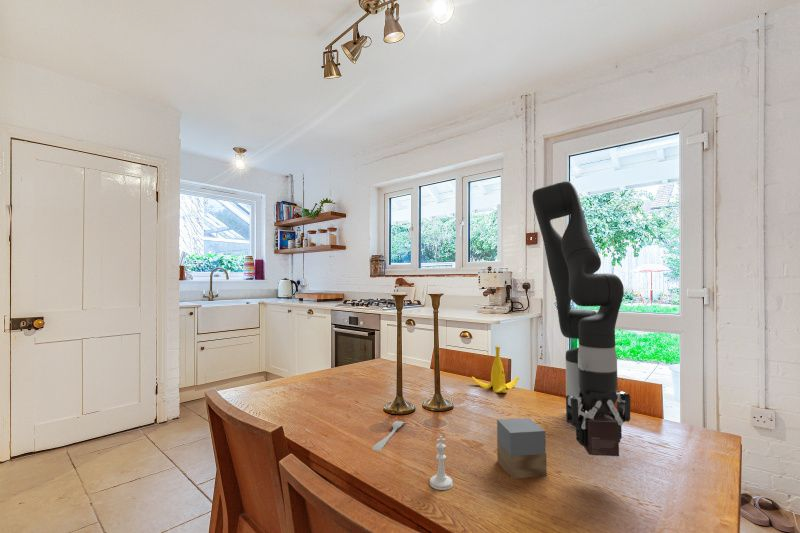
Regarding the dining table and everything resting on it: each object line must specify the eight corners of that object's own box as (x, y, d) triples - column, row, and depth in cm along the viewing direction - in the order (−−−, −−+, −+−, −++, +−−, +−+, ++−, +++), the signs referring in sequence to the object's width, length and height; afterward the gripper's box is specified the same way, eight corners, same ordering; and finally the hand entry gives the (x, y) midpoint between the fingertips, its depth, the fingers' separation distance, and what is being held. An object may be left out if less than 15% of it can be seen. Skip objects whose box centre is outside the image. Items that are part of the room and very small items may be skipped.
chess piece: (427, 478, 85) (427, 432, 85) (450, 477, 85) (449, 431, 86) (431, 490, 80) (431, 441, 80) (455, 489, 80) (454, 440, 81)
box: (619, 457, 80) (619, 422, 80) (588, 455, 81) (587, 420, 81) (609, 444, 86) (608, 411, 86) (580, 442, 87) (579, 410, 87)
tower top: (529, 438, 94) (529, 417, 94) (545, 453, 86) (545, 430, 86) (497, 440, 93) (497, 419, 93) (510, 456, 85) (510, 432, 85)
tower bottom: (528, 459, 94) (528, 438, 94) (546, 476, 86) (546, 453, 86) (497, 462, 92) (497, 440, 93) (512, 479, 85) (512, 456, 85)
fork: (370, 459, 99) (369, 449, 99) (401, 422, 118) (400, 413, 118) (380, 461, 98) (379, 451, 98) (409, 423, 117) (409, 414, 117)
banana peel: (519, 385, 157) (519, 343, 157) (505, 398, 141) (505, 351, 141) (480, 379, 166) (480, 340, 166) (463, 391, 150) (462, 347, 150)
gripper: (614, 360, 89) (615, 432, 89) (556, 364, 86) (558, 438, 86) (639, 368, 81) (641, 447, 81) (578, 373, 79) (580, 454, 79)
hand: (599, 442), depth 84 cm, fingers closed on box, 7 cm apart
